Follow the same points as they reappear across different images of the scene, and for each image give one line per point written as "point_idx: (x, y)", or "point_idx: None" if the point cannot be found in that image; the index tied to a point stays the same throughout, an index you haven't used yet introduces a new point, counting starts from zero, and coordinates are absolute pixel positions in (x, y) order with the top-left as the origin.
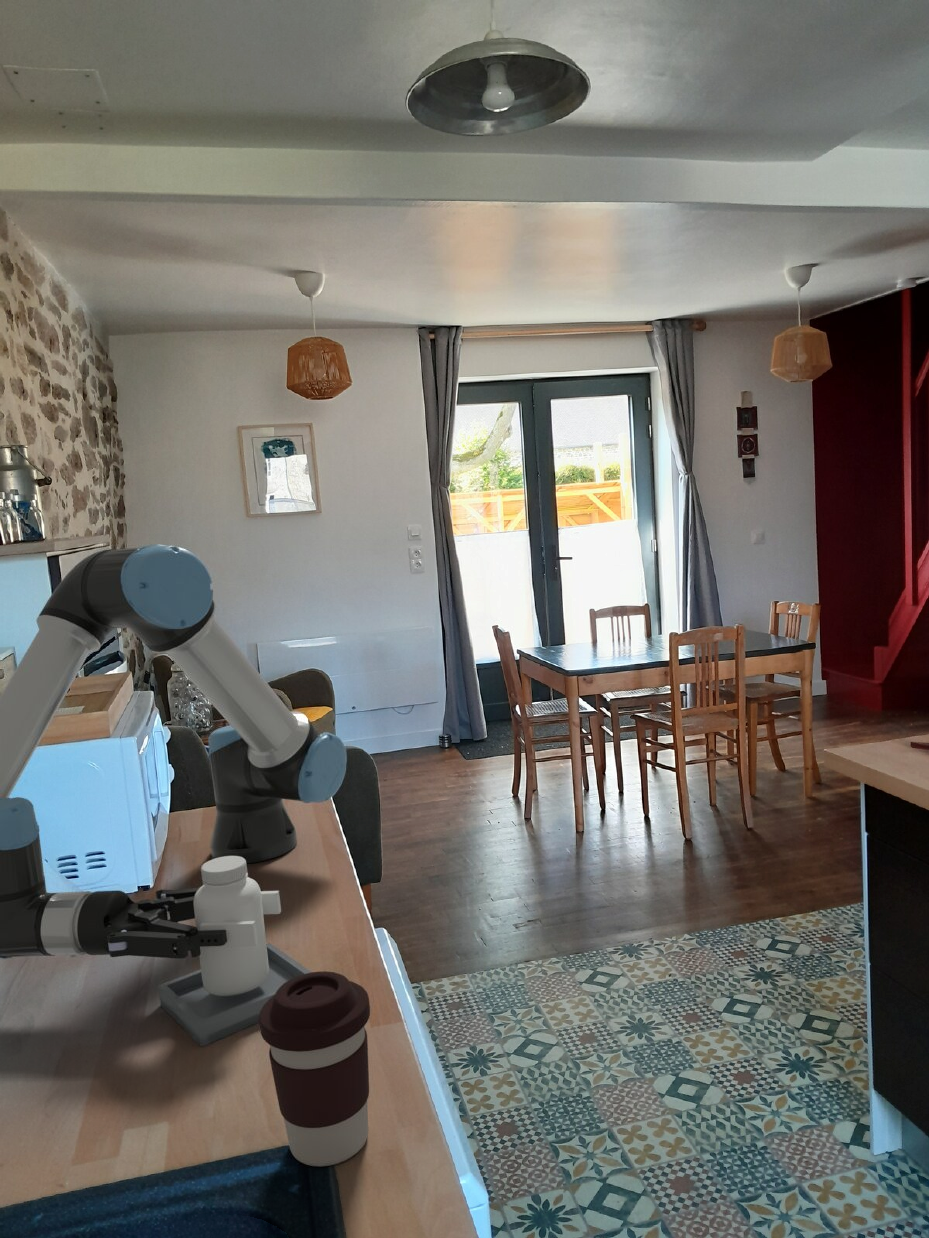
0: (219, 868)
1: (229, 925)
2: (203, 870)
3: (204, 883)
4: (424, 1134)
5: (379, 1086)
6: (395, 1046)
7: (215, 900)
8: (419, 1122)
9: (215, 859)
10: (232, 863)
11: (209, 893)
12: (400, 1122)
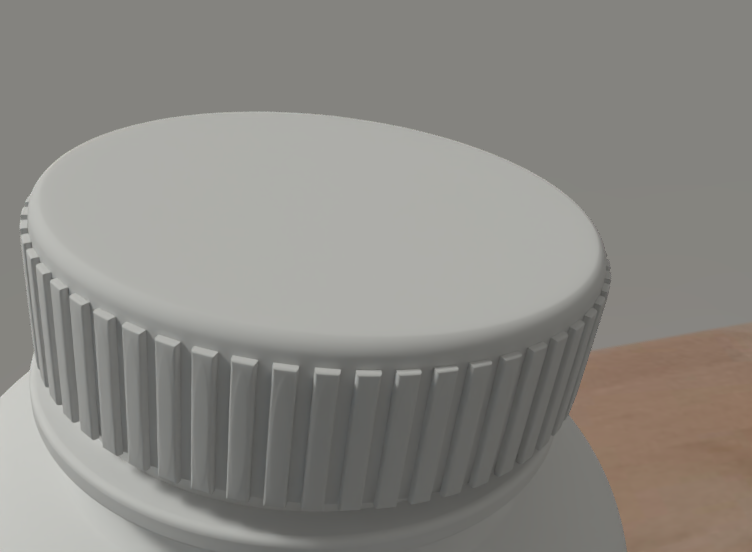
0: (486, 200)
1: None
2: (573, 305)
3: (517, 477)
4: (741, 333)
5: (658, 388)
6: None
7: (594, 461)
8: (719, 339)
9: (132, 250)
10: (337, 150)
11: (550, 494)
12: (734, 358)
